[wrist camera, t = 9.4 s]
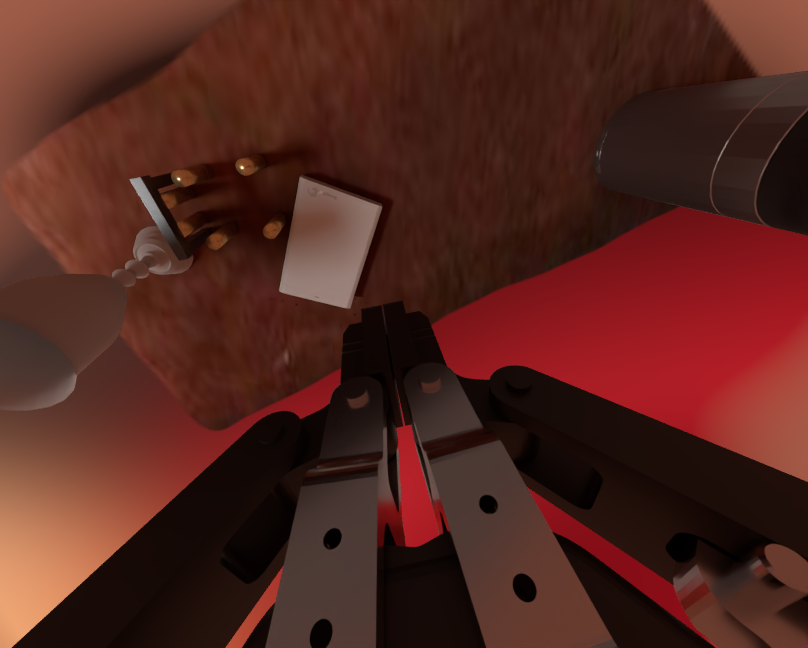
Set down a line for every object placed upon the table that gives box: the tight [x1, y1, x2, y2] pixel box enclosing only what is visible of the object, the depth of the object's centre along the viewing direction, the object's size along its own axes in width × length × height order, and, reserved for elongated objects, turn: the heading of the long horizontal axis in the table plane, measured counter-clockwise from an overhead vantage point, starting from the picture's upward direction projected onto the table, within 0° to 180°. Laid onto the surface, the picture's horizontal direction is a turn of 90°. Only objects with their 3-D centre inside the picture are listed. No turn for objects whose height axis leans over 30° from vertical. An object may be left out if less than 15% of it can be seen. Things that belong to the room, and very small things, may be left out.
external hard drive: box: [279, 175, 383, 308], centre depth 32 cm, size 2×8×12 cm
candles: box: [129, 154, 287, 261], centre depth 27 cm, size 9×6×6 cm
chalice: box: [0, 226, 193, 410], centre depth 23 cm, size 7×7×18 cm
